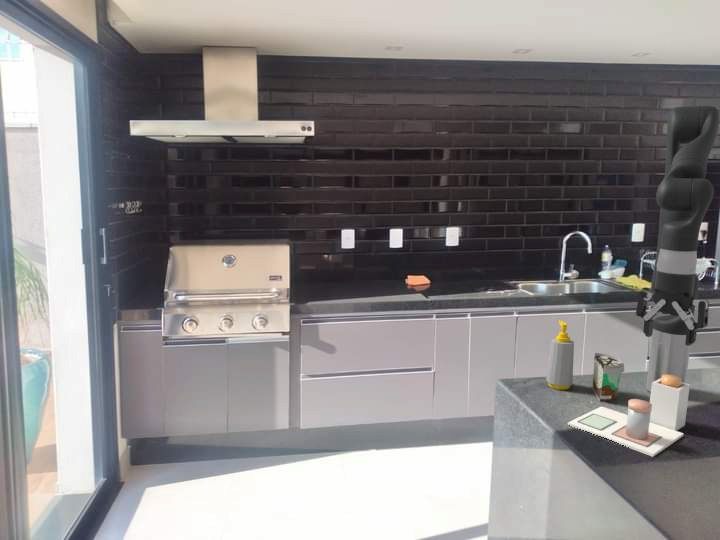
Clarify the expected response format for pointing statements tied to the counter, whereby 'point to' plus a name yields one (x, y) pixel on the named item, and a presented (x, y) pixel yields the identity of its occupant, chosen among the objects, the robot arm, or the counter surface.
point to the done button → (671, 381)
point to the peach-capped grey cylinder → (638, 419)
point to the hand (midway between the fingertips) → (668, 340)
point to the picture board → (615, 429)
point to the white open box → (669, 405)
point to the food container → (606, 376)
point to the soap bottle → (561, 361)
